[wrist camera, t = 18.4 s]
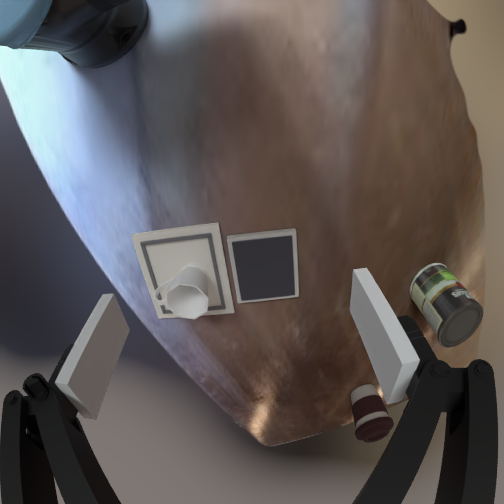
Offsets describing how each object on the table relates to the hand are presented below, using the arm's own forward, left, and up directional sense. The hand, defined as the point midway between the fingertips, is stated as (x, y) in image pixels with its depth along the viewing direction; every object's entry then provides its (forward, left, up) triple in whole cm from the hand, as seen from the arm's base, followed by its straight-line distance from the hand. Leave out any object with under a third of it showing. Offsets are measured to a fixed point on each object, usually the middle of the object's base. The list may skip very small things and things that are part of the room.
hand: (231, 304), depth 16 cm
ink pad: (+17, +2, -32) cm, 36 cm away
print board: (+17, -12, -32) cm, 38 cm away
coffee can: (+26, +36, -32) cm, 55 cm away
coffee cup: (+60, +25, -32) cm, 72 cm away
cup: (+17, -12, -31) cm, 37 cm away
